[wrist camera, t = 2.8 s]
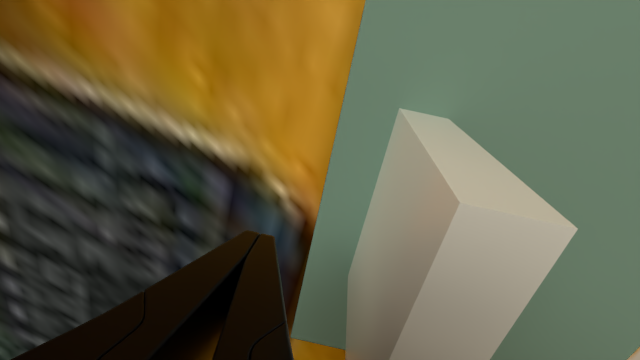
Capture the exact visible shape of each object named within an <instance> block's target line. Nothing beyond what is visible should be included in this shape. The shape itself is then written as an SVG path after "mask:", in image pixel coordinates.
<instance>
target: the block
mask: <svg viewBox="0 0 640 360" xmlns="http://www.w3.org/2000/svg"><path fill="white" fill-rule="evenodd" d="M577 230H578V228H576V227H575V226H574V225H573V224H572V223H571V222H569V221H568V220H567V219H566V218H565V217H564V216H562V215H561V214H560V213H559V212H558V211H556V210H555V209H554V208H553V207H552V206H551V205H549V204H548V203H547V202H546V201H545V200H544V199H542V198H541V197H540V196H539V195H538V194H536V193H535V192H534V191H533V190H532V189H531V188H529V187H528V186H527V185H526V184H525V183H524V182H522V181H521V180H520V179H519V178H518V177H516V176H515V175H514V174H513V173H512V172H511V171H509V170H508V169H507V168H506V167H505V166H504V165H502V164H501V163H500V162H499V161H498V160H496V159H495V158H494V157H493V156H492V155H491V154H489V153H488V152H487V151H486V150H485V149H484V148H482V147H481V146H480V145H479V144H478V143H476V142H475V141H474V140H473V139H472V138H471V137H469V136H468V135H467V134H466V133H465V132H464V131H462V130H461V129H460V128H459V127H458V126H456V125H455V124H454V123H453V122H452V121H451V120H449V119H447V118H442V117H438V116H433V115H428V114H424V113H419V112H415V111H410V110H405V109H401V108H399V111H398V114H397V117H396V120H395V124H394V127H393V130H392V133H391V137H390V140H389V143H388V147H387V150H386V153H385V156H384V160H383V163H382V166H381V170H380V173H379V176H378V179H377V183H376V186H375V189H374V192H373V196H372V199H371V202H370V206H369V209H368V212H367V215H366V219H365V222H364V225H363V228H362V232H361V235H360V238H359V242H358V245H357V248H356V251H355V255H354V258H353V261H352V264H351V268H350V271H349V274H348V291H347V325H346V358H345V360H490V359H491V357H492V356H493V354H494V353H495V351H496V350H497V348H498V347H499V345H500V344H501V342H502V341H503V339H504V338H505V336H506V335H507V333H508V332H509V330H510V329H511V327H512V326H513V325H514V323H515V322H516V320H517V319H518V317H519V316H520V314H521V313H522V311H523V310H524V308H525V307H526V305H527V304H528V302H529V301H530V299H531V298H532V296H533V295H534V293H535V292H536V290H537V289H538V287H539V286H540V284H541V283H542V282H543V280H544V279H545V277H546V276H547V274H548V273H549V271H550V270H551V268H552V267H553V265H554V264H555V262H556V261H557V259H558V258H559V256H560V255H561V253H562V252H563V250H564V249H565V247H566V246H567V244H568V243H569V241H570V240H571V239H572V237H573V236H574V234H575V233H576V231H577Z"/></svg>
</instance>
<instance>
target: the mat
mask: <svg viewBox="0 0 640 360" xmlns="http://www.w3.org/2000/svg"><path fill="white" fill-rule="evenodd" d="M399 108H401V109H405V110H410V111H415V112H419V113H424V114H428V115H433V116H438V117H442V118H447V119H449V120H451V121H452V122H453V123H454V124H455V125H456V126H458V127H459V128H460V129H461V130H462V131H464V132H465V133H466V134H467V135H468V136H469V137H471V138H472V139H473V140H474V141H475V142H476V143H478V144H479V145H480V146H481V147H482V148H484V149H485V150H486V151H487V152H488V153H489V154H491V155H492V156H493V157H494V158H495V159H496V160H498V161H499V162H500V163H501V164H502V165H504V166H505V167H506V168H507V169H508V170H509V171H511V172H512V173H513V174H514V175H515V176H516V177H518V178H519V179H520V180H521V181H522V182H524V183H525V184H526V185H527V186H528V187H529V188H531V189H532V190H533V191H534V192H535V193H536V194H538V195H539V196H540V197H541V198H542V199H544V200H545V201H546V202H547V203H548V204H549V205H551V206H552V207H553V208H554V209H555V210H556V211H558V212H559V213H560V214H561V215H562V216H564V217H565V218H566V219H567V220H568V221H569V222H571V223H572V224H573V225H574V226H575V227H576V228H578V230H577V231H576V233H575V234H574V236H573V237H572V239H571V240H570V241H569V243H568V244H567V246H566V247H565V249H564V250H563V252H562V253H561V255H560V256H559V258H558V259H557V261H556V262H555V264H554V265H553V267H552V268H551V270H550V271H549V273H548V274H547V276H546V277H545V279H544V280H543V282H542V283H541V284H540V286H539V287H538V289H537V290H536V292H535V293H534V295H533V296H532V298H531V299H530V301H529V302H528V304H527V305H526V307H525V308H524V310H523V311H522V313H521V314H520V316H519V317H518V319H517V320H516V322H515V323H514V325H513V326H512V327H511V329H510V330H509V332H508V333H507V335H506V336H505V338H504V339H503V341H502V342H501V344H500V345H499V347H498V348H497V350H496V351H495V353H494V354H493V356H492V357H491V359H490V360H627V359H628V358H629V357H630V356H631V355H632V354H633V353H634V352H635V351H636V350H637V349H638V348H639V347H640V0H366V2H365V6H364V11H363V15H362V20H361V24H360V29H359V33H358V38H357V42H356V47H355V51H354V56H353V60H352V65H351V69H350V73H349V78H348V82H347V87H346V91H345V96H344V100H343V105H342V109H341V114H340V118H339V123H338V127H337V132H336V136H335V140H334V145H333V149H332V154H331V158H330V163H329V167H328V172H327V176H326V181H325V185H324V190H323V194H322V199H321V203H320V208H319V212H318V216H317V221H316V225H315V230H314V234H313V239H312V243H311V248H310V252H309V257H308V261H307V266H306V270H305V275H304V279H303V283H302V288H301V292H300V297H299V301H298V306H297V310H296V315H295V319H294V324H293V328H292V333H291V338H295V339H299V340H304V341H308V342H313V343H317V344H321V345H326V346H330V347H335V348H339V349H343V350H346V325H347V291H348V274H349V271H350V268H351V264H352V261H353V258H354V255H355V251H356V248H357V245H358V242H359V238H360V235H361V232H362V228H363V225H364V222H365V219H366V215H367V212H368V209H369V206H370V202H371V199H372V196H373V192H374V189H375V186H376V183H377V179H378V176H379V173H380V170H381V166H382V163H383V160H384V156H385V153H386V150H387V147H388V143H389V140H390V137H391V133H392V130H393V127H394V124H395V120H396V117H397V114H398V111H399Z"/></svg>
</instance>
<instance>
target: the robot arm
mask: <svg viewBox="0 0 640 360" xmlns="http://www.w3.org/2000/svg"><path fill="white" fill-rule="evenodd" d="M11 360H294V358H293V354H292V349H291V343H290V338H289V331H288V325H287V319H286V312H285V305H284V298H283V292H282V285H281V278H280V271H279V264H278V258H277V251H276V244H275V238H274V236H271V235H266V234H259V233H257V232H253V231H248V230H247V231H244V232H242V233H241V234H239V235H237V236H236V237H234V238H232V239H230V240H229V241H227V242H225V243H224V244H222V245H220V246H219V247H217V248H215V249H213V250H212V251H210V252H208V253H207V254H205V255H203V256H202V257H200V258H198V259H196V260H195V261H193V262H191V263H190V264H188V265H186V266H185V267H183V268H181V269H180V270H178V271H176V272H174V273H173V274H171V275H169V276H168V277H166V278H164V279H163V280H161V281H159V282H157V283H156V284H154V285H152V286H151V287H149V288H147V289H146V290H145V291H144V292H140V293H139V294H137V295H135V296H133V297H132V298H130V299H128V300H127V301H125V302H123V303H121V304H119V305H118V306H116V307H114V308H112V309H111V310H109V311H107V312H105V313H103V314H101V315H100V316H98V317H96V318H94V319H92V320H90V321H88V322H86V323H84V324H82V325H80V326H78V327H76V328H74V329H72V330H70V331H68V332H66V333H64V334H62V335H60V336H58V337H56V338H54V339H52V340H50V341H48V342H46V343H43V344H41V345H39V346H37V347H35V348H33V349H31V350H29V351H27V352H25V353H23V354H21V355H19V356H17V357H15V358H13V359H11Z"/></svg>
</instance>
